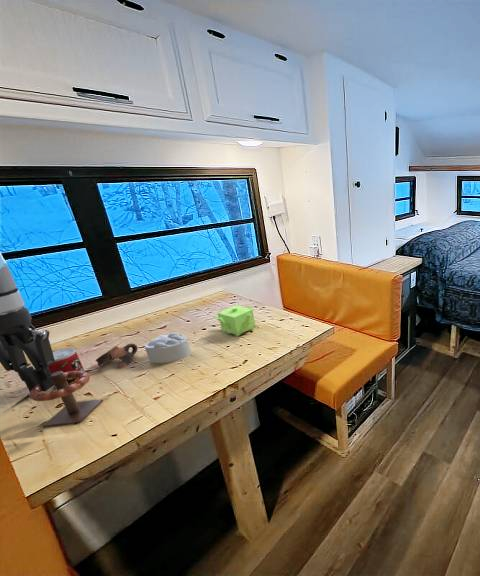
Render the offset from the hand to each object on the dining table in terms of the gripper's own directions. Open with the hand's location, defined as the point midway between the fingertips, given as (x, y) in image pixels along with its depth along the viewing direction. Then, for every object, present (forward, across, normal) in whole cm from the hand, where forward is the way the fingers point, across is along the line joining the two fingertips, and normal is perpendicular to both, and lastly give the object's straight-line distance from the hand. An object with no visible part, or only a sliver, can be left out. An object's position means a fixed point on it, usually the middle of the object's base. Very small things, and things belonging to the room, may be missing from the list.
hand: (42, 388), depth 83 cm
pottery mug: (+10, -1, -27) cm, 29 cm away
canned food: (+10, +9, -18) cm, 23 cm away
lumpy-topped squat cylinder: (+10, -18, -28) cm, 35 cm away
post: (+10, -5, 0) cm, 11 cm away
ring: (-1, -5, 0) cm, 5 cm away
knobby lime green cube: (+10, -37, -45) cm, 59 cm away
